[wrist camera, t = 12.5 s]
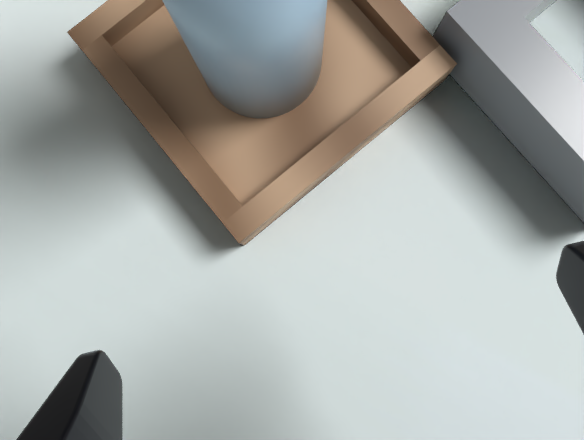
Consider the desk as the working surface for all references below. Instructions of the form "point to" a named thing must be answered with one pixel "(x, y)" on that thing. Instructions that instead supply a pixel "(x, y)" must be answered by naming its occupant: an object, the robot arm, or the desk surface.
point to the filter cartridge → (254, 50)
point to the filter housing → (521, 86)
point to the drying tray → (265, 131)
